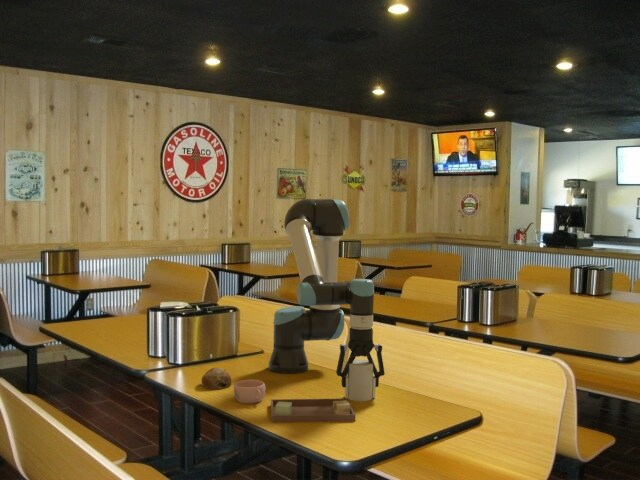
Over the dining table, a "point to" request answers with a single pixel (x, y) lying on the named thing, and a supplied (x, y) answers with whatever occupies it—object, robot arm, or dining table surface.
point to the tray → (311, 411)
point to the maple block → (341, 407)
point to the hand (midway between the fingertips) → (359, 396)
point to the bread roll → (216, 379)
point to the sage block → (284, 408)
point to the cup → (360, 381)
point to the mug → (249, 391)
